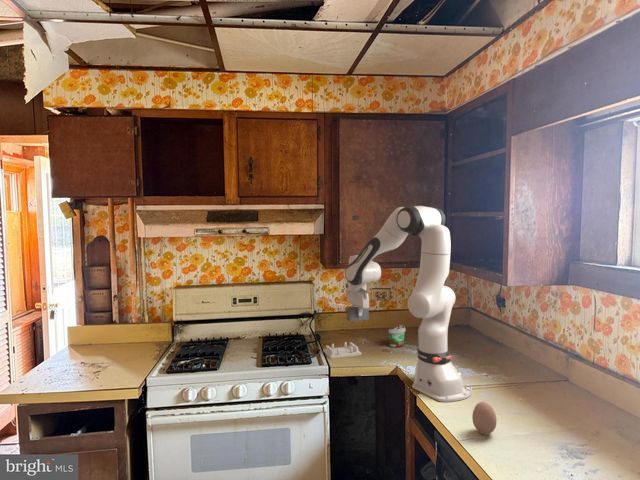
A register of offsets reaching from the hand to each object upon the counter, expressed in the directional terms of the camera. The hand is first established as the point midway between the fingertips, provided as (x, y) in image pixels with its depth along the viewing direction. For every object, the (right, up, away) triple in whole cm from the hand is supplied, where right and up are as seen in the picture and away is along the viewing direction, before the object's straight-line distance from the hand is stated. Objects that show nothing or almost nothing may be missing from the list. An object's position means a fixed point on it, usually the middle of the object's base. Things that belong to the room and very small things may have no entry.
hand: (357, 314), depth 192 cm
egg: (+32, -23, -73) cm, 83 cm away
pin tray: (-8, -20, +4) cm, 22 cm away
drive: (0, -3, 0) cm, 3 cm away
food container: (+23, -19, +12) cm, 33 cm away
